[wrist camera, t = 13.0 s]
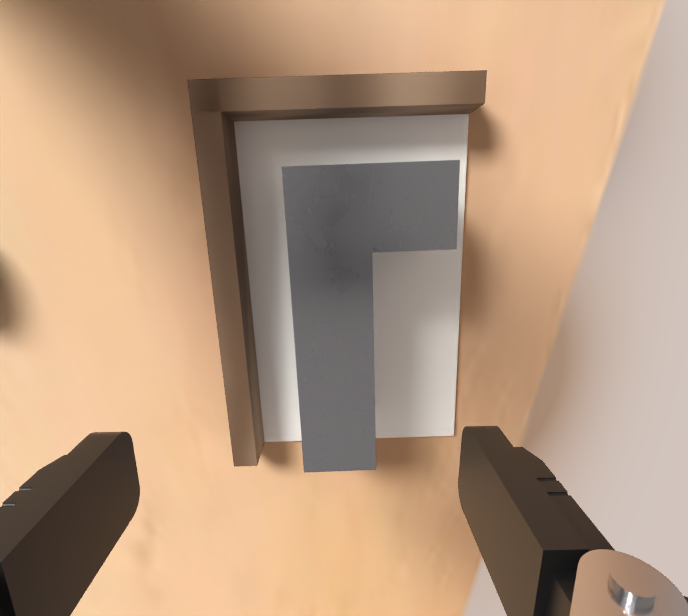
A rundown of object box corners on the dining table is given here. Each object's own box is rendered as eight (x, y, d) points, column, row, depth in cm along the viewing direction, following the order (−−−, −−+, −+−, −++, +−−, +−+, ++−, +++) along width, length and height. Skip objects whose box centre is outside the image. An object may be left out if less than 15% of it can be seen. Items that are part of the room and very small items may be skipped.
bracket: (295, 175, 24) (281, 166, 18) (430, 169, 24) (460, 159, 18) (311, 415, 28) (304, 472, 22) (425, 411, 28) (448, 466, 22)
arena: (244, 439, 29) (234, 466, 26) (207, 95, 23) (187, 79, 20) (452, 432, 29) (464, 458, 26) (467, 86, 23) (486, 70, 20)
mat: (265, 438, 29) (264, 442, 28) (235, 122, 23) (233, 121, 23) (452, 432, 29) (453, 435, 28) (466, 115, 23) (468, 114, 23)
